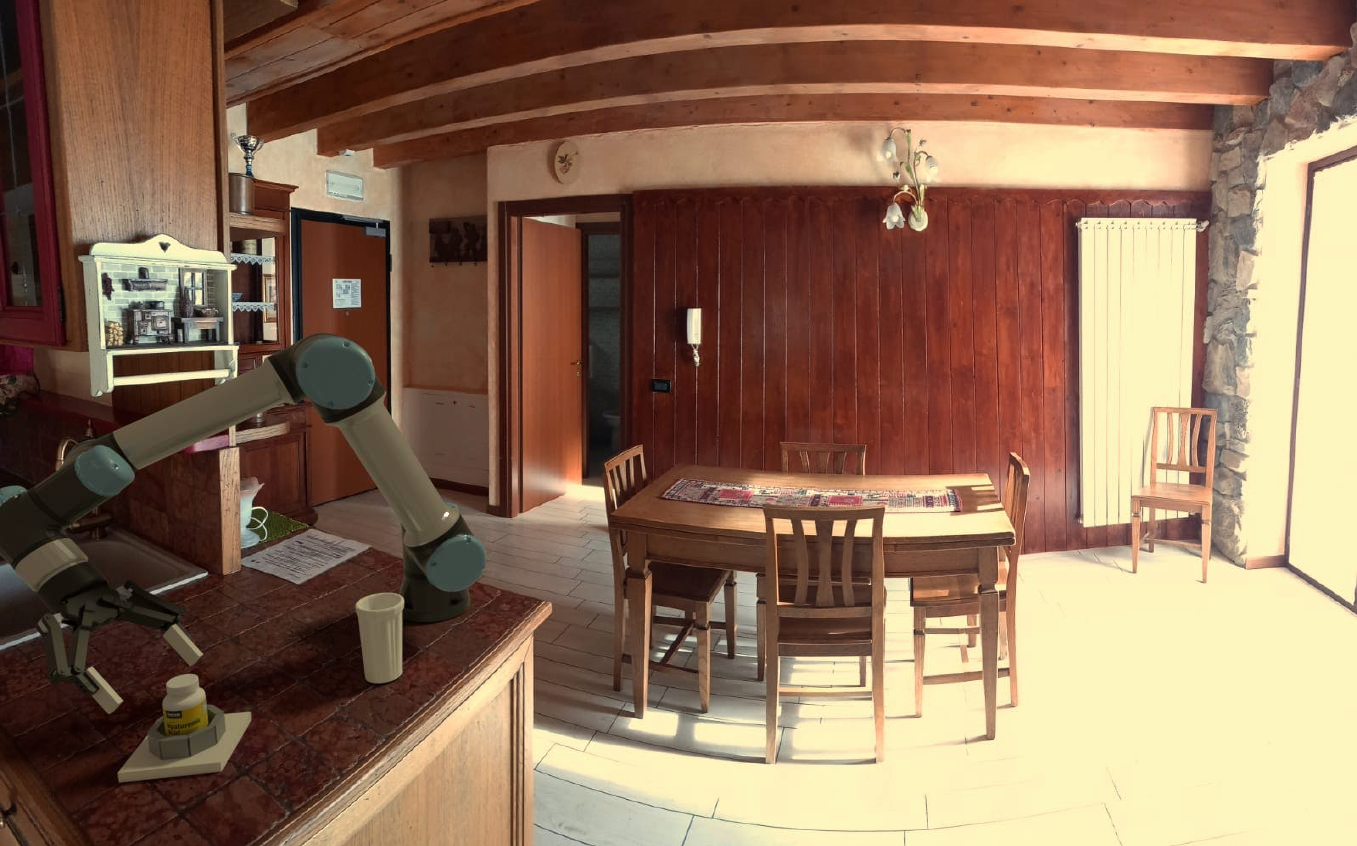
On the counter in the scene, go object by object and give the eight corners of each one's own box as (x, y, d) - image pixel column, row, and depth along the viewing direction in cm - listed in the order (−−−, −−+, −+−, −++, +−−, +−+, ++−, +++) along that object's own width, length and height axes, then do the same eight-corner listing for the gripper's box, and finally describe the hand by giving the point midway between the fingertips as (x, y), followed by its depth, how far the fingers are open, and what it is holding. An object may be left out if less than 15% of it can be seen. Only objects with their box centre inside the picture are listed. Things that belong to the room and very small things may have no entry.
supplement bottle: (163, 754, 109) (155, 693, 107) (171, 733, 114) (164, 674, 112) (206, 746, 111) (200, 685, 109) (212, 726, 116) (206, 668, 114)
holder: (251, 719, 120) (249, 694, 119) (221, 771, 108) (218, 743, 107) (160, 728, 117) (157, 702, 116) (118, 782, 105) (115, 753, 104)
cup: (392, 690, 130) (388, 613, 127) (349, 685, 131) (345, 608, 128) (416, 667, 137) (413, 594, 135) (376, 662, 139) (372, 590, 136)
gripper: (127, 561, 124) (213, 656, 124) (-44, 628, 100) (62, 745, 100) (150, 534, 122) (237, 630, 122) (-18, 595, 98) (89, 715, 98)
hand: (158, 682), depth 111 cm, fingers open, 13 cm apart
